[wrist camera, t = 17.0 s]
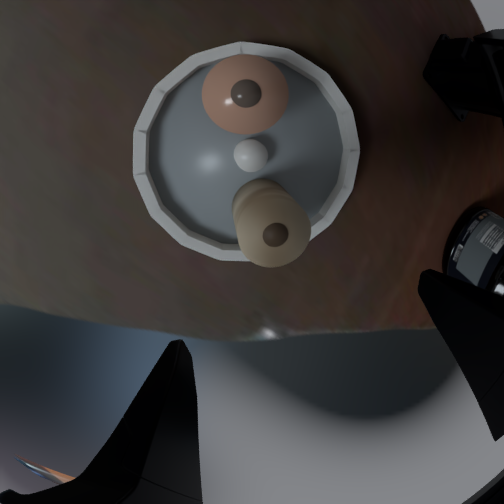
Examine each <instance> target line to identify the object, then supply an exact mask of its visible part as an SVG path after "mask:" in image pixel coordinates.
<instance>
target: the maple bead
mask: <svg viewBox="0 0 504 504" xmlns="http://www.w3.org/2000/svg"><path fill="white" fill-rule="evenodd" d="M232 215H233V219H234V224H235V229H236V233H237V238H238V243H239V246H240V249H241V251H242V253H243V254H244V255H245V256H246V257H247V259H249V260H250V261H251V262H253V263H255V264H257V265H260V266H264V267H278V266H283V265H286V264H288V263H290V262H292V261H294V260H295V259H296V258H298V257H299V256H300V255H301V254H302V253H303V251H304V250H305V249H306V247H307V245H308V243H309V240H310V236H311V223H310V220H309V217H308V215H307V214H306V212H305V211H304V210H303V209H302V207H301V206H300V205H299V204H298V203H297V202H296V201H295V200H294V199H293V198H292V196H291V195H290V194H289V193H288V192H287V191H286V190H285V189H284V188H283V187H282V186H281V185H280V184H279V183H277V182H275V181H273V180H270V179H264V178H262V179H254V180H251V181H249V182H247V183H245V184H244V185H243V186H241V187H240V188H239V189H238V191H237V192H236V194H235V196H234V198H233V201H232Z"/></svg>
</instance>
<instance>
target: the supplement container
mask: <svg viewBox="0 0 504 504" xmlns="http://www.w3.org/2000/svg"><path fill="white" fill-rule="evenodd" d="M442 271H443V274H446V275H449V276H451V277H454V278H457V279H459V280H462V281H465V282H467V283H470V284H472V285H475V286H478V287H480V288H483V289H485V290H488V291H490V292H493V293H495V294H498V295H500V296H502V297H504V219H503V218H502V217H500V216H499V215H497V214H495V213H494V212H493V211H491V210H490V209H488V208H485V207H476V208H473V209H471V210H470V211H468V212H467V213H466V214H465V215H464V216H463V217H462V218H461V219H460V220H459V221H458V223H457V224H456V226H455V227H454V229H453V230H452V232H451V234H450V236H449V238H448V241H447V243H446V246H445V250H444V254H443V260H442Z"/></svg>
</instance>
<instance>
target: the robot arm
mask: <svg viewBox="0 0 504 504" xmlns="http://www.w3.org/2000/svg"><path fill="white" fill-rule="evenodd" d="M473 38H474V40H475V41H472V40H471V39H470V38H455V39H450V38H449V37H448V36H447V35H446V34H441V35H440V37H439V39H438V41H437V42H436V44H435V46H434V49H433V51H432V53H431V55H430V59H429V61H428V63H427V65H426V67H425V69H424V71H423V77H424V79H425V80H426V81H427V82H428V84H429V85H430V86H431V87H432V88H433V89H434V90H435V92H436V93H437V94H438V95H439V96H440V98H441V99H442V100H443V101H444V103H445V104H446V105H447V106H448V108H449V109H450V110H451V112H452V113H453V114H454V116H455V117H456V118H457V120H458V121H461V122H463V121H464V120H465V118H466V116H467V113H468V111H473V112H478V113H483V114H488V115H492V116H496V117H500V118H502V122H503V126H504V29H495V30H491V31H488V32H485V33H482V34H479V35H477V36H474V37H473ZM428 75H429V77H428ZM418 293H419V296H420V297H421V299H422V301H423V303H424V305H425V307H426V309H427V311H428V313H429V315H430V317H431V319H432V320H433V322H434V324H435V326H436V327H437V329H438V331H439V332H440V334H441V335H442V337H443V339H444V340H445V342H446V344H447V346H448V347H449V349H450V351H451V352H452V354H453V356H454V357H455V359H456V361H457V363H458V365H459V366H460V368H461V370H462V372H463V374H464V376H465V378H466V380H467V381H468V383H469V385H470V387H471V389H472V391H473V393H474V395H475V397H476V399H477V402H478V404H479V406H480V408H481V410H482V412H483V415H484V417H485V419H486V422H487V424H488V426H489V429H490V431H491V434H492V436H493V439H494V440H495V441H497V440H498V439H499V438H500V437H502V436H503V435H504V297H502V296H500V295H498V294H495V293H493V292H490V291H488V290H485V289H483V288H480V287H478V286H475V285H472V284H470V283H467V282H465V281H462V280H459V279H457V278H454V277H451V276H449V275H446V274H443V273H440V272H438V271H435V270H432V269H428V270H425V271H423V272H422V273H421V275H420V279H419V285H418ZM197 410H198V407H197V393H196V386H195V377H194V370H193V362H192V356H191V354H190V352H189V350H188V348H187V347H186V345H185V343H184V341H183V340H180V339H179V340H174V341H171V342H170V343H169V344H168V346H167V348H166V349H165V350H164V352H163V354H162V355H161V357H160V358H159V360H158V361H157V363H156V365H155V366H154V368H153V369H152V371H151V372H150V374H149V376H148V377H147V379H146V381H145V382H144V384H143V385H142V387H141V388H140V390H139V391H138V393H137V395H136V396H135V398H134V400H133V401H132V403H131V404H130V406H129V408H128V409H127V411H126V412H125V414H124V416H123V417H124V418H122V419H121V421H120V422H119V424H118V425H117V427H116V428H115V430H114V431H113V433H112V434H111V436H110V437H109V439H108V440H107V442H106V443H105V445H104V446H103V447H102V448H101V450H100V451H99V452H98V454H97V455H96V456H95V457H94V459H93V460H92V461H91V463H90V464H89V465H88V467H87V468H86V469H85V470H84V471H83V473H81V474H80V475H79V476H78V477H77V478H75V479H73V480H71V481H69V482H66V483H63V484H60V485H58V486H55V487H52V488H49V489H46V490H43V491H39V492H36V493H32V494H25V495H24V494H19V493H17V492H15V491H13V490H11V489H8V490H6V491H4V492H2V493H0V503H1V504H203V502H202V489H201V476H200V460H199V439H198V411H197ZM462 504H504V469H503V470H502V471H501V472H500V473H499V474H498V475H497V476H496V477H495V478H493V479H492V480H491V481H490V482H489V483H488V484H486V485H485V486H484V487H483V488H482V489H481V490H479V491H478V492H477V493H475V494H474V495H473V496H471V497H470V498H469V499H468V500H466V501H465V502H463V503H462Z"/></svg>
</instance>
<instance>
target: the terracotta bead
mask: <svg viewBox="0 0 504 504" xmlns="http://www.w3.org/2000/svg"><path fill="white" fill-rule="evenodd" d="M288 99H289V90H288V85H287V82H286V79H285V77H284V75H283V74H282V72H281V71H280V70H279V69H278V68H277V67H276V66H275V65H274V64H273V63H271V62H270V61H268V60H266V59H264V58H262V57H259V56H255V55H249V54H242V55H235V56H231V57H228V58H226V59H224V60H222V61H221V62H219V63H218V64H216V65H215V66H214V67H213V68H212V69H211V70H210V72H209V73H208V75H207V76H206V78H205V81H204V83H203V87H202V101H203V105H204V108H205V110H206V113H207V114H208V116H209V117H210V118H211V120H212V121H213V122H214V123H215V124H217V125H218V126H219V127H221V128H222V129H224V130H226V131H229V132H232V133H236V134H255V133H259V132H262V131H264V130H266V129H268V128H270V127H271V126H273V125H274V124H275V123H276V122H277V121H278V120H279V119H280V118H281V117H282V115H283V114H284V112H285V110H286V107H287V104H288Z"/></svg>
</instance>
